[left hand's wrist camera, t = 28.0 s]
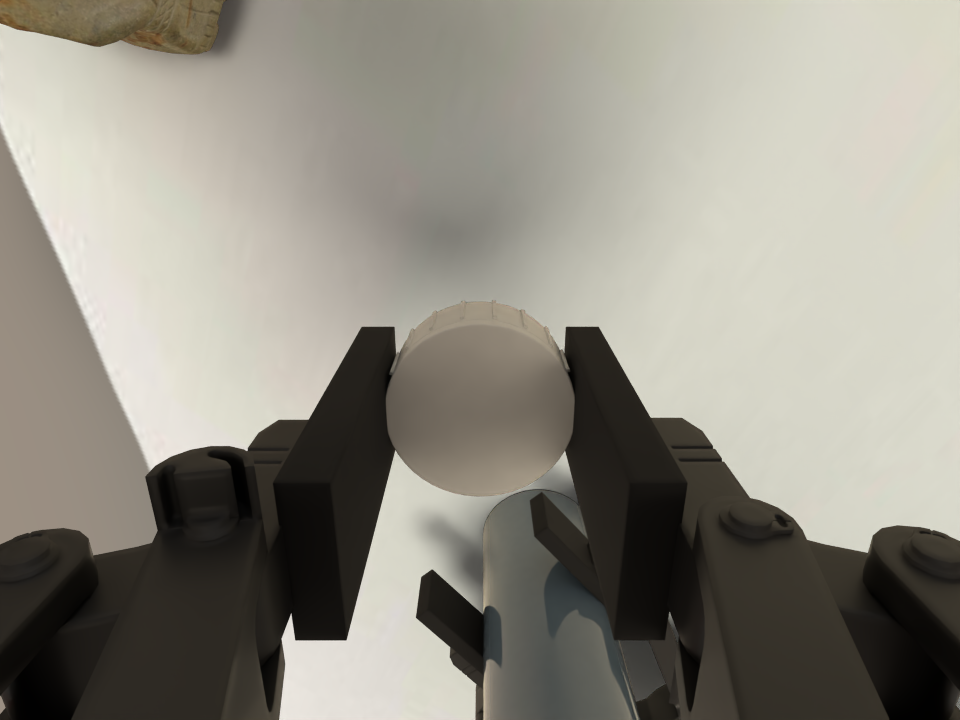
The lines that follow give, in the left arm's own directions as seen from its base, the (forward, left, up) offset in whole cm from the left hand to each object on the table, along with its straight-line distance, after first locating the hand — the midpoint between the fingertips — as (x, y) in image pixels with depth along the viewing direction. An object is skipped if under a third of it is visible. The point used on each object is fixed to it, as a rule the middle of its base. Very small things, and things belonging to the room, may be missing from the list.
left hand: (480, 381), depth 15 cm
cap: (0, 0, +1) cm, 1 cm away
